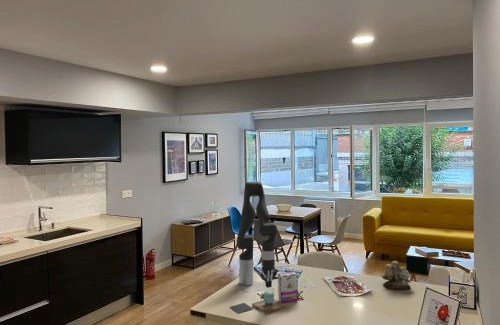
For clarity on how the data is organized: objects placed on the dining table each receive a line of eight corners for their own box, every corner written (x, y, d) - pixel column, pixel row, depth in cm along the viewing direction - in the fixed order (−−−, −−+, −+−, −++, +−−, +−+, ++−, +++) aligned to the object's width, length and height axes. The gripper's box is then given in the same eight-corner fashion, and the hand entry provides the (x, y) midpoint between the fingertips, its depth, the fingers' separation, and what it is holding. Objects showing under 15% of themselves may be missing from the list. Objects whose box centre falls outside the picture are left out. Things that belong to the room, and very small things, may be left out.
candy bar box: (295, 297, 230) (294, 271, 229) (298, 300, 225) (297, 274, 225) (277, 300, 227) (277, 273, 226) (280, 303, 222) (280, 276, 222)
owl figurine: (382, 289, 241) (382, 263, 240) (380, 283, 252) (379, 258, 252) (412, 291, 237) (412, 264, 237) (408, 284, 249) (408, 259, 248)
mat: (229, 307, 218) (229, 306, 218) (244, 303, 223) (244, 302, 223) (238, 313, 209) (238, 312, 209) (253, 309, 215) (253, 308, 215)
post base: (252, 305, 219) (252, 293, 219) (271, 300, 227) (271, 288, 227) (266, 314, 207) (266, 301, 207) (286, 308, 215) (285, 295, 215)
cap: (261, 300, 218) (261, 291, 218) (270, 298, 221) (269, 289, 221) (267, 304, 213) (267, 294, 213) (276, 301, 216) (276, 292, 216)
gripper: (273, 254, 223) (274, 282, 224) (254, 258, 216) (255, 287, 216) (281, 257, 217) (281, 286, 217) (262, 261, 209) (262, 291, 210)
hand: (268, 287), depth 217 cm, fingers closed
